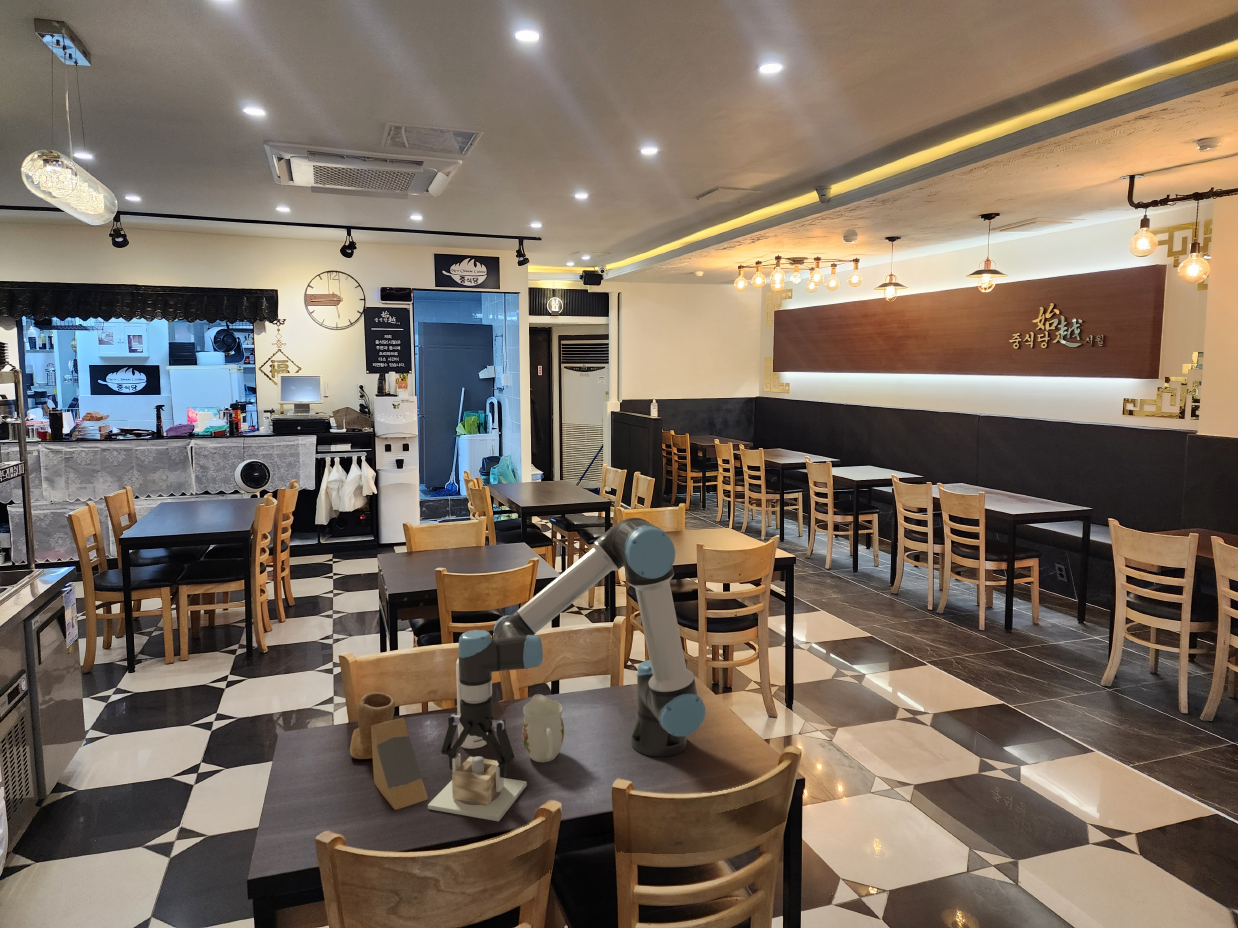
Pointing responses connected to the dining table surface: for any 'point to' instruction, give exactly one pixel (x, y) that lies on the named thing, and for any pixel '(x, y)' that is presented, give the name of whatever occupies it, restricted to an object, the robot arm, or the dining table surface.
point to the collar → (475, 782)
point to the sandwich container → (396, 764)
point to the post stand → (490, 811)
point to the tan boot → (370, 722)
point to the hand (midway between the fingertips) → (478, 785)
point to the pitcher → (542, 728)
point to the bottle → (469, 740)
